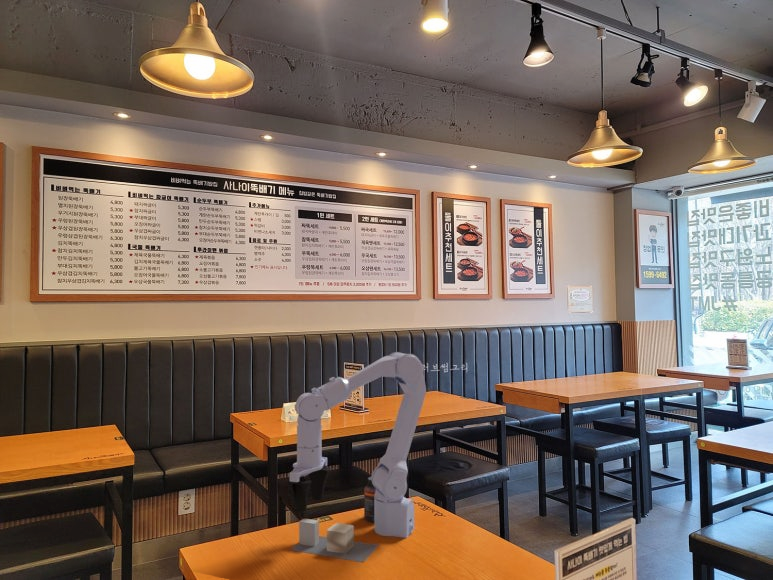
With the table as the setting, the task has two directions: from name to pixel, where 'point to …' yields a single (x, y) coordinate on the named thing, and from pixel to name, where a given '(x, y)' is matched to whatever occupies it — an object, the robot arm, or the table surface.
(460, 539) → the table surface
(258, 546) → the table surface
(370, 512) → the supplement bottle
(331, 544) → the birch block
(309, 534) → the gray plate with post
